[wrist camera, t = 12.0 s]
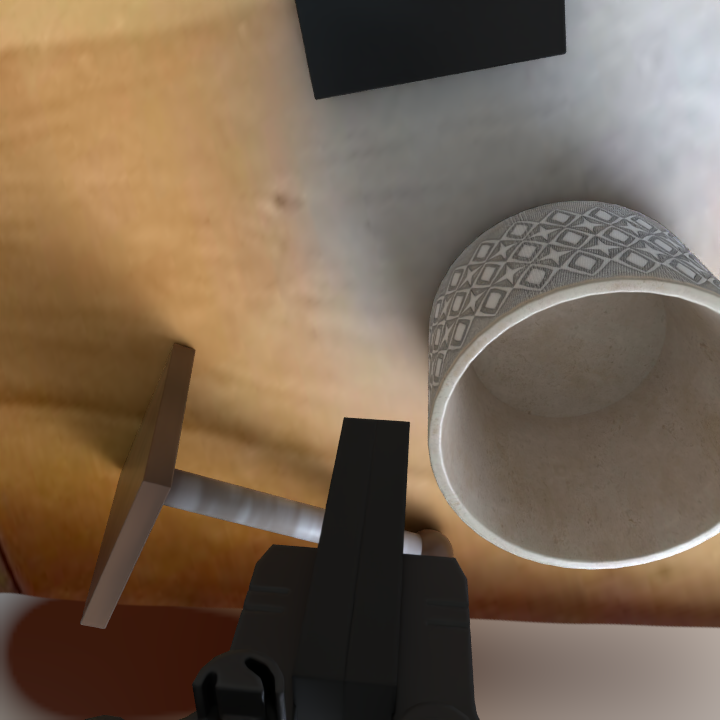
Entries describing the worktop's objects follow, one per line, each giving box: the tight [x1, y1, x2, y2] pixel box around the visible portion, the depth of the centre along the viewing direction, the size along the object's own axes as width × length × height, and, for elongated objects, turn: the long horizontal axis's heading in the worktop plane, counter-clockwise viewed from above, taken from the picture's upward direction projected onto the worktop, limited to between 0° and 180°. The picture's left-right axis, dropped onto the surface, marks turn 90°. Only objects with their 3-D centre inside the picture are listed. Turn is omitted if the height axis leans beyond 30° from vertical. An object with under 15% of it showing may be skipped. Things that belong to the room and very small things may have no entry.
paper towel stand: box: [80, 343, 453, 629], centre depth 45 cm, size 25×13×13 cm, turn 63°
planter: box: [428, 201, 720, 569], centre depth 37 cm, size 16×16×13 cm
